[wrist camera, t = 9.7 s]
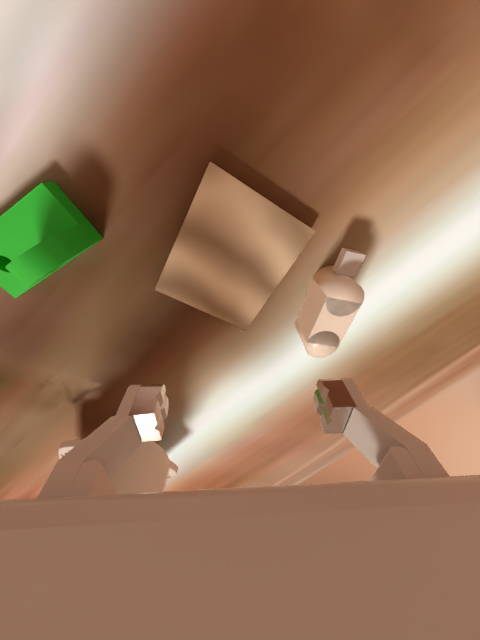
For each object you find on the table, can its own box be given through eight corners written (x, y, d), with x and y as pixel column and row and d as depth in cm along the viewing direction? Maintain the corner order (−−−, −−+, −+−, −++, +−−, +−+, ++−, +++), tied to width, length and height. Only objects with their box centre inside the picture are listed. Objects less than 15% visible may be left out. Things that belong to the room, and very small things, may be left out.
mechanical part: (55, 181, 23) (-17, 188, 16) (103, 237, 26) (61, 263, 19) (-25, 245, 26) (-115, 274, 19) (27, 290, 28) (-34, 329, 22)
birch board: (245, 324, 32) (245, 330, 31) (157, 284, 29) (154, 289, 27) (311, 228, 26) (315, 231, 25) (210, 161, 22) (209, 161, 21)
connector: (318, 335, 34) (331, 359, 30) (291, 331, 34) (300, 355, 29) (359, 248, 28) (384, 263, 23) (327, 240, 27) (346, 255, 23)
